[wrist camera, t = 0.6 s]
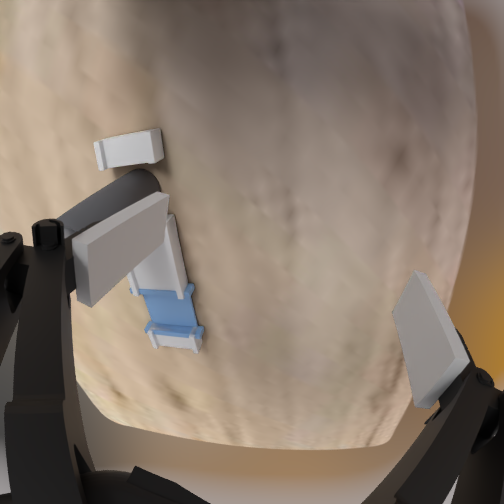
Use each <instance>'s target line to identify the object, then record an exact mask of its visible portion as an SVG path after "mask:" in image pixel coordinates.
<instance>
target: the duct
mask: <svg viewBox="0 0 504 504" xmlns="http://www.w3.org/2000/svg"><path fill="white" fill-rule="evenodd" d="M94 147H95V153H96V158H97V163H98V168H99V171H102V170H105V169H107V168H113V167H120V166H127V165H134V164H141V163H149V164H152V163H156V162H158V161H159V160H161V159H163V158H164V152H163V145H162V138H161V131H160V128H157V129H151V130H145V131H139V132H134V133H128V134H123V135H118V136H114V137H109V138H105V139H102V140H99V141H96V142H94ZM127 277H128V280H129V283H130V286H131V288H130V292H131V293H132V294H133V295H134V296H139V295H140V294H143V296H144V299H145V302H146V305H147V308H148V311H149V314H150V316H151V319H152V321H149V322H148V324H147V326H146V328H145V329H144V330H145V333H148V335H149V338H150V340H151V343H152V345H153V348H157V349H158V347H159V345H161V346H169V347H177V348H185V349H192V350H193V353H197V354H198V353H199V350H200V348H201V345H202V342H203V341H202V338H201V337H202V334H203V332H204V327H203V326H198V323H197V319H196V315H195V311H194V307H193V303H192V299H191V295H192V293H193V291H194V289H195V288H194V284H190V283H188V280H187V275H186V271H185V266H184V261H183V257H182V252H181V247H180V242H179V237H178V232H177V227H176V222H175V216H174V214H167V220H166V228H165V237H164V243H162V244H161V245H160V246H159V247H158V248H157V249H155V250H154V251H153V252H152V253H151V254H150V255H149V256H147V257H146V258H145V259H144V260H143V261H142V262H141V263H140V264H138V265H137V266H136V267H135V268H134V269H133V270H132V271H131V272H129V273H128V274H127Z"/></svg>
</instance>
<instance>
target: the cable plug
mask: <svg viewBox="0 0 504 504" xmlns="http://www.w3.org/2000/svg"><path fill="white" fill-rule="evenodd" d="M155 192H160V187H159V184H158V181H157V179H156V178H155V176H154V175H153V174H152V173H150V172H149V171H147V170H144V169H135V170H132V171H131V172H129V173H127V174H125V175H124V176H122V177H120V178H119V179H117V180H115V181H114V182H112V183H110V184H109V185H107V186H105V187H104V188H102V189H101V190H99V191H97V192H96V193H94V194H93V195H91V196H90V197H88V198H86V199H85V200H83V201H82V202H80V203H79V204H77V205H76V206H74V207H73V208H71V209H70V210H68V211H67V212H66V213H64V214H63V215H61V216H60V217H58V218H57V220H60V221H62V222H63V224H64V238H67V237H68V236H70V235H72V234H73V233H75V232H77V231H78V232H79V230H80V229H82V228H85V227H86V226H87V225H89V224H91V223H93V222H96V221H100V220H105V219H107V218H108V217H110V216H112V215H114V214H116V213H117V212H119V211H121V210H123V209H125V208H127V207H128V206H130V205H132V204H134V203H136V202H138V201H140V200H142V199H143V198H145V197H147V196H149V195H151V194H153V193H155Z"/></svg>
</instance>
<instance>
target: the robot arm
mask: <svg viewBox="0 0 504 504" xmlns="http://www.w3.org/2000/svg"><path fill="white" fill-rule="evenodd" d="M169 197H170V195H168V194H165V193H161V192H155V193H153V194H151V195H149V196H147V197H145V198H143V199H142V200H140V201H138V202H136V203H134V204H132V205H130V206H128V207H127V208H125V209H123V210H121V211H119V212H117V213H116V214H114V215H112V216H110V217H108V218H107V219H105V220H100V221H96V222H93V223H91V224H89V225H87V226H86V227H85V228H82V229H80V230H79V232H78V231H77V232H75V233H73V234H72V235H70V236H68V237H67V238H64V224H63V222H62V221H60V220H57V219H44V220H40V221H38V222H36V223H34V224H33V226H32V235H33V245H34V247H32V246H26V245H23V238H22V235H21V234H19V233H16V232H8V233H7V232H6V233H4V234H2V235H0V365H1V363H2V360H3V357H4V354H5V352H6V349H7V347H8V344H9V342H10V339H11V337H12V334H13V332H14V329H15V327H16V325H17V323H18V320H19V324H18V331H17V340H16V351H15V364H14V386H13V400H12V402H7V403H6V405H5V412H4V422H5V442H6V443H5V445H6V457H7V467H8V475H9V482H10V489H11V493H7V494H2V495H0V504H210V503H208V502H207V501H204V500H203V499H201V498H200V497H198V496H196V495H195V494H193V493H191V492H190V491H188V490H186V489H185V488H183V487H181V486H180V485H178V484H177V483H175V482H173V481H170V480H168V479H165V478H162V477H160V476H158V475H155V474H153V473H151V472H148V471H146V470H143V469H142V468H139V467H137V466H135V467H134V469H133V471H132V473H129V472H122V471H114V470H103V471H96V470H95V467H94V464H93V461H92V458H91V455H90V452H89V449H88V446H87V441H86V437H85V432H84V427H83V422H82V416H81V410H80V404H79V398H78V391H77V384H76V375H75V366H74V356H73V343H72V325H71V298H70V293H71V292H72V291H74V290H75V289H76V294H77V301H79V302H81V303H83V304H85V305H87V306H89V307H91V308H92V307H93V306H94V305H95V304H96V303H97V302H98V301H99V300H100V299H101V298H102V297H103V296H104V295H105V294H107V293H108V292H109V291H110V290H111V289H112V288H113V287H114V286H115V285H116V284H117V283H118V282H120V281H121V280H122V279H123V278H124V277H125V276H126V275H127V274H128V273H129V272H131V271H132V270H133V269H134V268H135V267H136V266H137V265H138V264H140V263H141V262H142V261H143V260H144V259H145V258H146V257H147V256H149V255H150V254H151V253H152V252H153V251H154V250H155V249H157V248H158V247H159V246H160V245H161V244H162V243H164V237H165V228H166V220H167V212H168V204H169ZM392 314H393V317H394V321H395V324H396V328H397V331H398V335H399V339H400V343H401V347H402V351H403V355H404V359H405V363H406V367H407V371H408V376H409V380H410V385H411V390H412V395H413V399H414V405H415V407H418V408H425V409H430V408H431V407H432V406H433V405H434V403H435V402H436V401H437V400H438V399H439V403H440V407H439V408H438V410H437V411H436V412H435V413H434V414H433V415H432V416H431V417H430V418H429V419H428V420H427V421H426V422H425V424H427V425H426V426H425V428H424V429H423V430H422V432H421V433H420V435H419V436H418V438H417V439H416V440H415V442H414V443H413V444H412V446H411V447H410V449H409V450H408V451H407V452H406V453H405V455H404V456H403V457H402V459H401V460H400V461H399V462H398V463H397V465H396V466H395V467H394V468H393V469H392V471H391V472H390V473H389V474H388V475H387V476H386V478H385V479H384V480H383V481H382V482H381V483H380V484H379V485H378V487H377V488H376V489H375V490H374V491H373V492H372V493H371V494H370V495H369V496H368V497H367V498H366V499H365V500H364V501H363V502H362V503H361V504H442V503H443V502H444V500H445V499H446V497H447V495H448V494H449V492H450V490H451V488H452V487H453V485H454V483H455V481H456V479H457V477H458V475H459V477H458V481H457V484H456V488H455V492H454V495H453V499H452V502H451V504H504V390H503V391H500V390H498V389H496V388H494V382H493V379H492V378H491V376H490V375H489V374H488V373H487V372H486V371H485V370H483V369H481V368H478V367H476V366H475V364H474V361H473V359H472V357H471V355H470V352H469V351H468V348H467V346H466V344H465V342H464V340H463V337H462V335H461V334H460V333H459V332H458V330H457V329H456V328H455V327H454V325H453V323H452V321H451V319H450V317H449V316H448V313H447V312H446V310H445V308H444V306H443V304H442V302H441V300H440V298H439V296H438V295H437V293H436V291H435V289H434V287H433V285H432V284H431V282H430V280H429V278H428V277H427V275H426V274H425V273H422V272H419V271H417V270H414V271H413V273H412V275H411V277H410V279H409V281H408V283H407V285H406V287H405V289H404V291H403V293H402V295H401V297H400V298H399V300H398V302H397V304H396V306H395V308H394V310H393V311H392ZM494 435H495V436H494Z"/></svg>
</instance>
